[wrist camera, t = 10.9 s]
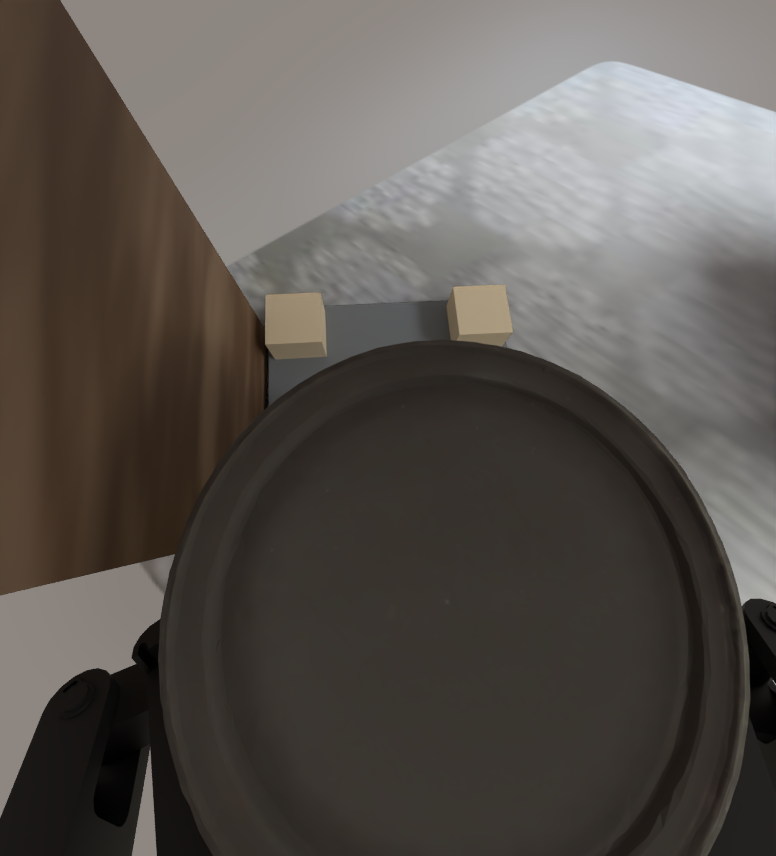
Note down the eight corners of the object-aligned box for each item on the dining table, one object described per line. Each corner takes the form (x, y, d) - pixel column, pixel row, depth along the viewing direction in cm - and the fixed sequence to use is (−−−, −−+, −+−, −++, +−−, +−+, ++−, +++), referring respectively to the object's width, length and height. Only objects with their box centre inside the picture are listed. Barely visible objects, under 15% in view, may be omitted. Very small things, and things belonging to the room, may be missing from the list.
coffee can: (356, 674, 18) (288, 1224, 4) (286, 494, 20) (84, 461, 6) (523, 584, 19) (892, 774, 5) (441, 424, 21) (558, 268, 7)
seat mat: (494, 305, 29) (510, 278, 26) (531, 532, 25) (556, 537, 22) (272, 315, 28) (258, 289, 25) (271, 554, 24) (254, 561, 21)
